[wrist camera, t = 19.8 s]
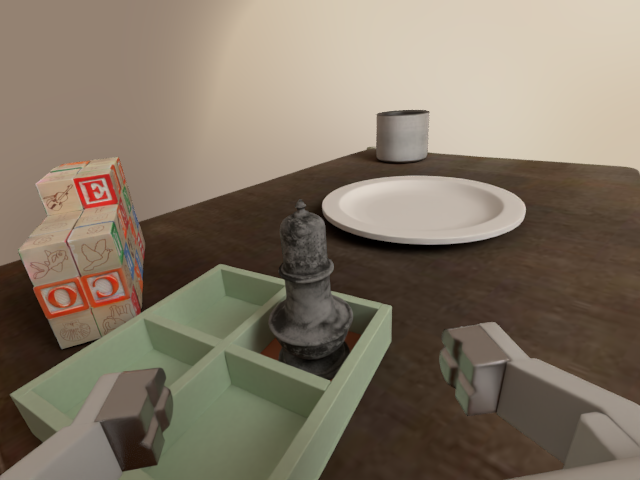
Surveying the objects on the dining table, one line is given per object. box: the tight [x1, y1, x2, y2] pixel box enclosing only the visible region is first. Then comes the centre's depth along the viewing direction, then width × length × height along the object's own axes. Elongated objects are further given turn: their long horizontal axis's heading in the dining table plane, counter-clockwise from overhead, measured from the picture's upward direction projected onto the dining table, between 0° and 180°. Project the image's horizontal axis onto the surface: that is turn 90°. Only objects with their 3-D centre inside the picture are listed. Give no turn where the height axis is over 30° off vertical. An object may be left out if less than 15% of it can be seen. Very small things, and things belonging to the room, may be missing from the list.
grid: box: [10, 264, 392, 480], centre depth 24 cm, size 17×17×3 cm
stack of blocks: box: [18, 157, 145, 349], centre depth 36 cm, size 21×6×12 cm, turn 25°
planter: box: [376, 110, 429, 163], centre depth 86 cm, size 13×12×11 cm
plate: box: [322, 176, 526, 245], centre depth 52 cm, size 28×28×2 cm
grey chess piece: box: [268, 199, 353, 380], centre depth 23 cm, size 6×6×12 cm
